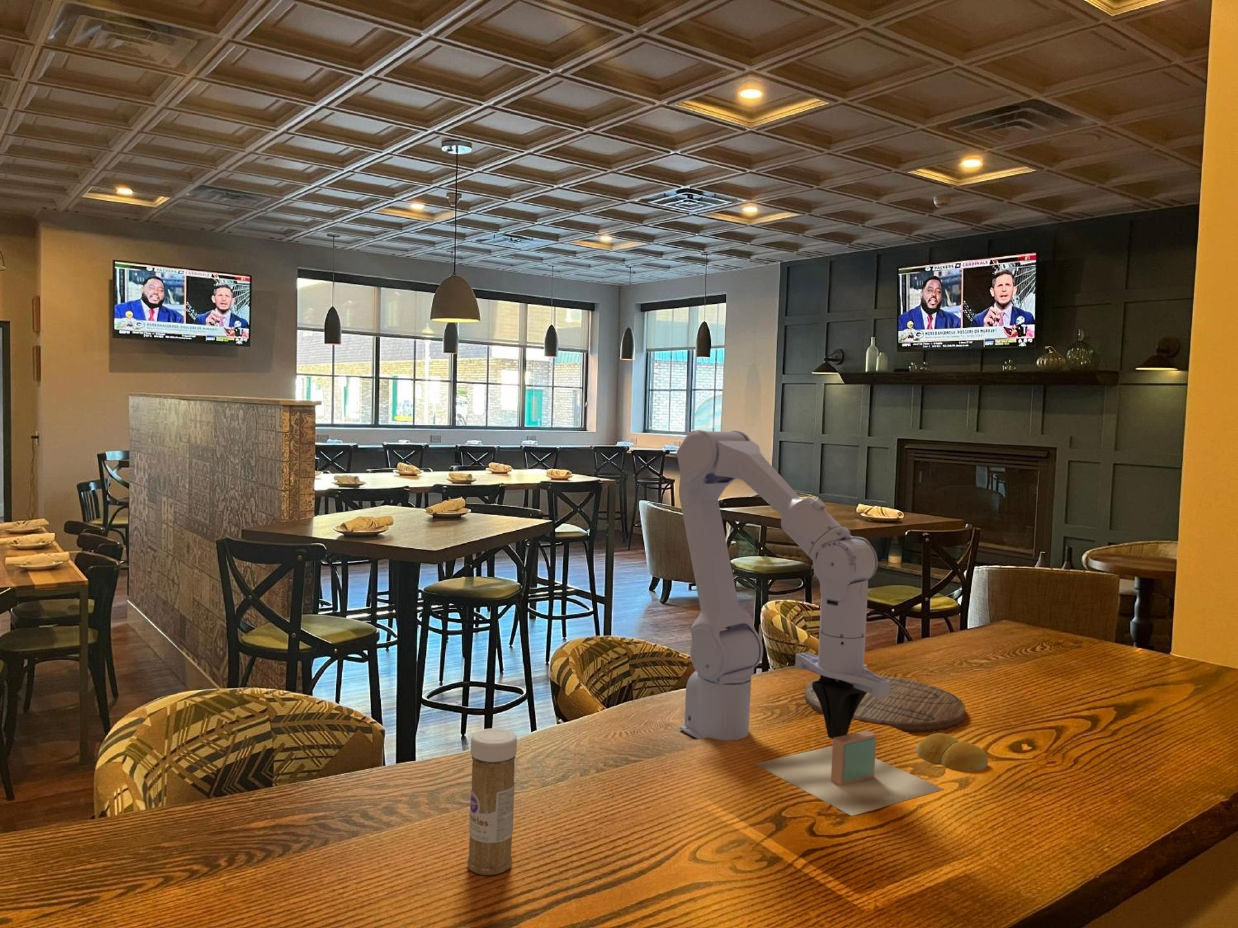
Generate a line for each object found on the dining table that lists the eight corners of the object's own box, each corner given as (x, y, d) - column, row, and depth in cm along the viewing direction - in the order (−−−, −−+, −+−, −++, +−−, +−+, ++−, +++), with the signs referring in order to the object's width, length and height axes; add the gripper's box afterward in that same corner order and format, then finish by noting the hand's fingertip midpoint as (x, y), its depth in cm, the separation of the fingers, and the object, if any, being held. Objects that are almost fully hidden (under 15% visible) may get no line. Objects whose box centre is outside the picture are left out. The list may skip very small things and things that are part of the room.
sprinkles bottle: (457, 865, 90) (461, 734, 89) (492, 849, 93) (495, 723, 93) (488, 882, 87) (492, 746, 86) (522, 865, 90) (526, 734, 90)
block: (830, 780, 112) (833, 737, 112) (864, 772, 115) (866, 730, 115) (841, 786, 111) (843, 742, 110) (875, 777, 114) (877, 734, 113)
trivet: (945, 747, 129) (946, 734, 129) (781, 711, 142) (782, 700, 142) (978, 703, 150) (978, 692, 150) (832, 675, 163) (833, 665, 163)
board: (754, 771, 117) (754, 763, 117) (842, 750, 125) (842, 743, 125) (851, 824, 102) (852, 815, 102) (943, 796, 111) (944, 789, 111)
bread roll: (969, 784, 116) (971, 754, 115) (907, 762, 122) (908, 734, 122) (1000, 769, 121) (1001, 740, 121) (938, 749, 128) (940, 722, 128)
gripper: (909, 642, 110) (903, 750, 111) (824, 618, 123) (819, 715, 124) (868, 648, 107) (863, 760, 108) (785, 622, 119) (780, 723, 120)
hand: (837, 737), depth 115 cm, fingers closed
